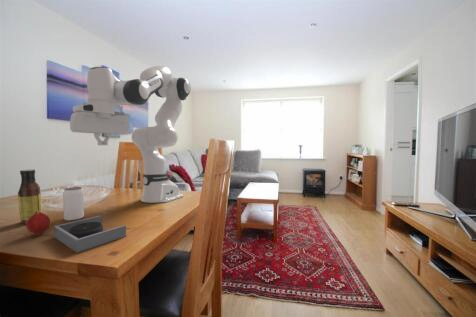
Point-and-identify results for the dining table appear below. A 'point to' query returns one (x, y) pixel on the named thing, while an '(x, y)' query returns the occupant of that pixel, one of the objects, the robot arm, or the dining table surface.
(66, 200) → the can
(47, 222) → the onion
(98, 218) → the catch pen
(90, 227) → the smart speaker
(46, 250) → the dining table surface
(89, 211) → the dining table surface
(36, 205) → the sauce bottle
